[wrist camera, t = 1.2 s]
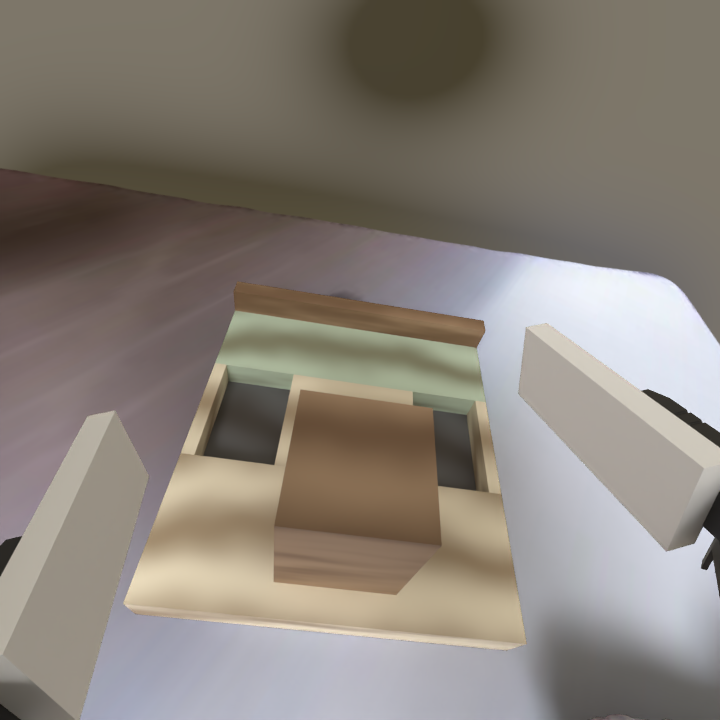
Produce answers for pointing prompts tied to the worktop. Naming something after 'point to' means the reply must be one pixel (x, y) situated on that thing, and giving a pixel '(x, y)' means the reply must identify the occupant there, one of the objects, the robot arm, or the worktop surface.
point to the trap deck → (268, 461)
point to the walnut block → (357, 495)
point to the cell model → (617, 717)
